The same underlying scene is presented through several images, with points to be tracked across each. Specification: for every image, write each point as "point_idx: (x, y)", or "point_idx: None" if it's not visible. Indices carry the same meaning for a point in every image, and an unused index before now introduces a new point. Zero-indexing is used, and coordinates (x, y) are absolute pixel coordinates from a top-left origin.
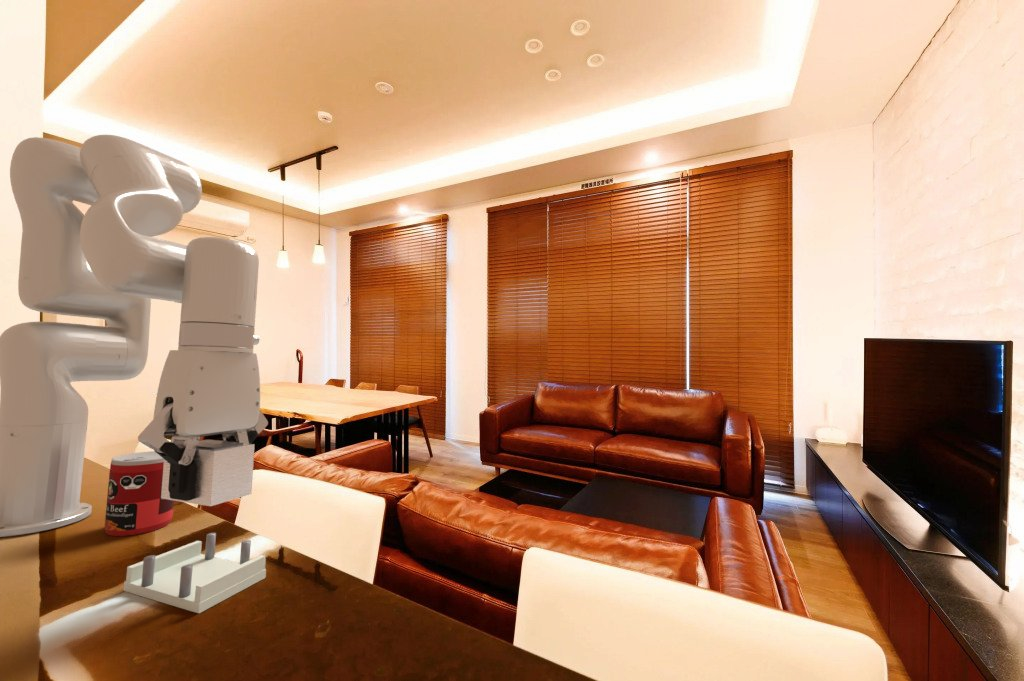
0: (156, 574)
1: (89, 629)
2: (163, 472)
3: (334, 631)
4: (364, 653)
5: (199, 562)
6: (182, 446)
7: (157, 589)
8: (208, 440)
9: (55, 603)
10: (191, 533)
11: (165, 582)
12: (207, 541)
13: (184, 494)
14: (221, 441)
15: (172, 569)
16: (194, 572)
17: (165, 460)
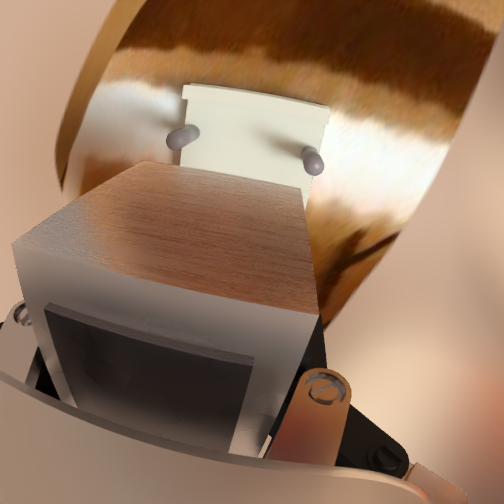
0: (226, 112)
1: (111, 149)
2: (96, 189)
3: None
4: None
5: (288, 150)
6: (37, 372)
7: (184, 165)
8: (220, 386)
9: (143, 27)
10: (438, 5)
11: (204, 157)
12: (303, 161)
13: None
14: (213, 444)
15: (250, 122)
16: (248, 175)
17: (18, 309)
